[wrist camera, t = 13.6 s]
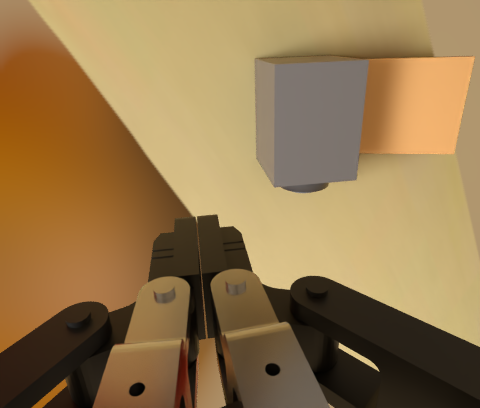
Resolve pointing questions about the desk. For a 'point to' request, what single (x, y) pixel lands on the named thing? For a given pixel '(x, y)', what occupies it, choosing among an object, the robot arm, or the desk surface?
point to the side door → (414, 104)
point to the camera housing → (309, 119)
